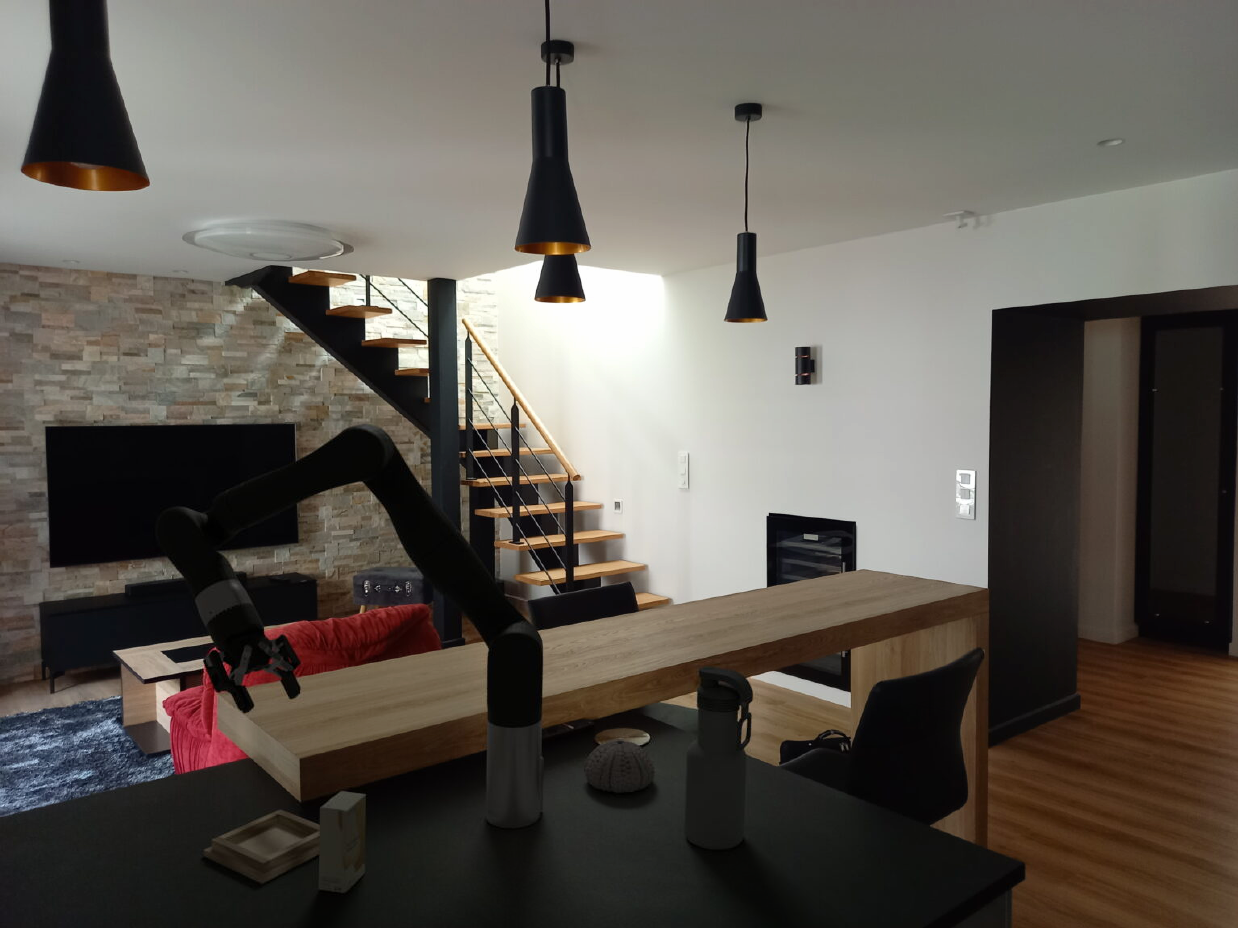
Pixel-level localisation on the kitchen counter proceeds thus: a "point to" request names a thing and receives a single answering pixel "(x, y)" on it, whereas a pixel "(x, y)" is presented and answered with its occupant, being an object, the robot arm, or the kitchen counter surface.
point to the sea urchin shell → (619, 767)
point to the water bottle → (718, 761)
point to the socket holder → (267, 846)
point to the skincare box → (342, 841)
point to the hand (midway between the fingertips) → (273, 703)
